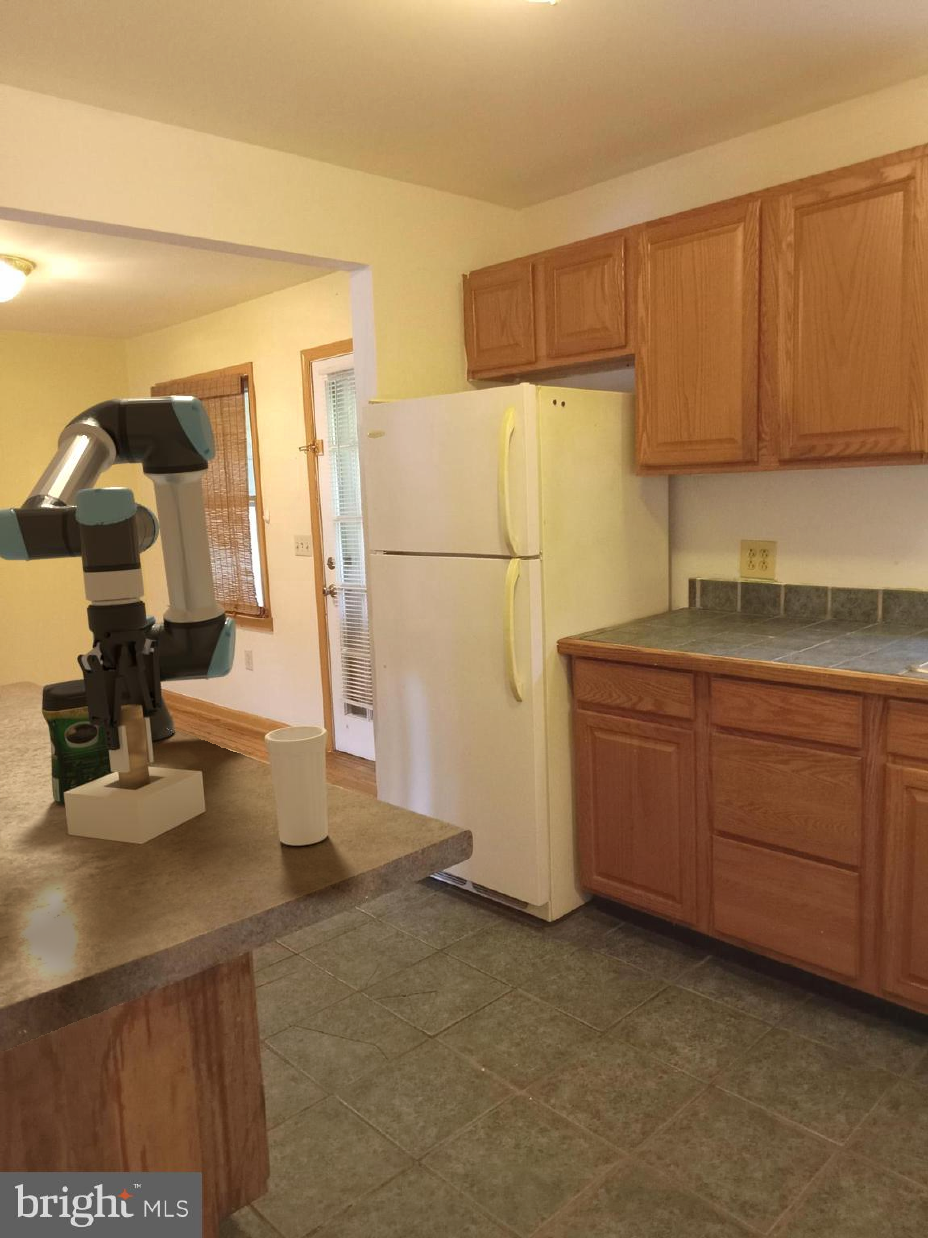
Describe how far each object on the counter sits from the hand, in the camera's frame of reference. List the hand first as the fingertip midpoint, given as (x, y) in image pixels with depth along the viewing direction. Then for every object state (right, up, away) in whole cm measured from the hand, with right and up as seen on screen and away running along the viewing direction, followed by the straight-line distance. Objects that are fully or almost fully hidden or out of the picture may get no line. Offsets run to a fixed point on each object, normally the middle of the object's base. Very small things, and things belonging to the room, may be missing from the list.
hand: (132, 766), depth 127 cm
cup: (+26, -8, -8) cm, 28 cm away
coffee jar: (-12, -7, +14) cm, 20 cm away
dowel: (0, -4, 0) cm, 4 cm away
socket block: (0, -8, +1) cm, 8 cm away
